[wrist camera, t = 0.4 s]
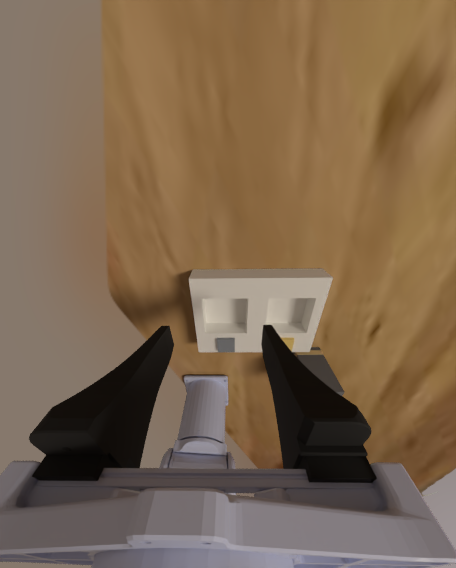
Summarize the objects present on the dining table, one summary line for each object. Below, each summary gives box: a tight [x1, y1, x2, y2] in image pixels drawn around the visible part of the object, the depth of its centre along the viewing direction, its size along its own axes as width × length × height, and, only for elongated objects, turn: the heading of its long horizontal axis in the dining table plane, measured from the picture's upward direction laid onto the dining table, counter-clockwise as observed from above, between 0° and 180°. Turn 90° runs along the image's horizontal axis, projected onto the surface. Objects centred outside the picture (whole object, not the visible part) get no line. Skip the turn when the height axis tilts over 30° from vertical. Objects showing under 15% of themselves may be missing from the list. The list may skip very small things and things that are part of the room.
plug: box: [293, 347, 344, 396], centre depth 26 cm, size 4×4×7 cm
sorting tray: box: [189, 268, 333, 352], centre depth 23 cm, size 12×16×3 cm
